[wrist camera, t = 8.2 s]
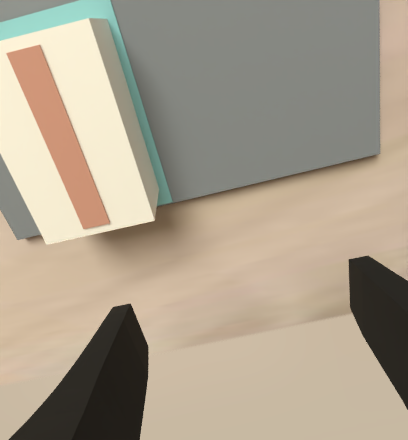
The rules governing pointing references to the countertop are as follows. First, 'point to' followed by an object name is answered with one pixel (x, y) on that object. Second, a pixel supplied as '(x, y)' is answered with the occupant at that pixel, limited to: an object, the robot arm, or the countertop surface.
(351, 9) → the mat
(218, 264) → the countertop surface
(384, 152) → the countertop surface
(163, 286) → the countertop surface
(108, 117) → the card box
